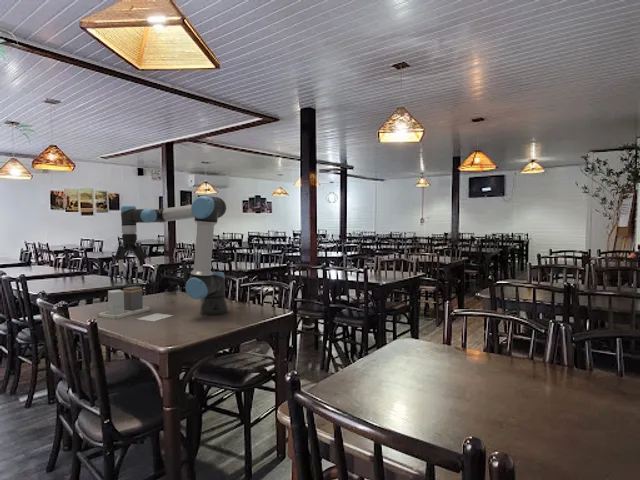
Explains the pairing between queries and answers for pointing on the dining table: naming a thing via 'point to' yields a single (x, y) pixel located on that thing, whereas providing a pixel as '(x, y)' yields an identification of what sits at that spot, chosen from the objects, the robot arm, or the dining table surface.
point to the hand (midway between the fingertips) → (130, 271)
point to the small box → (115, 302)
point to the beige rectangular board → (125, 314)
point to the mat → (154, 317)
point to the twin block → (133, 298)
